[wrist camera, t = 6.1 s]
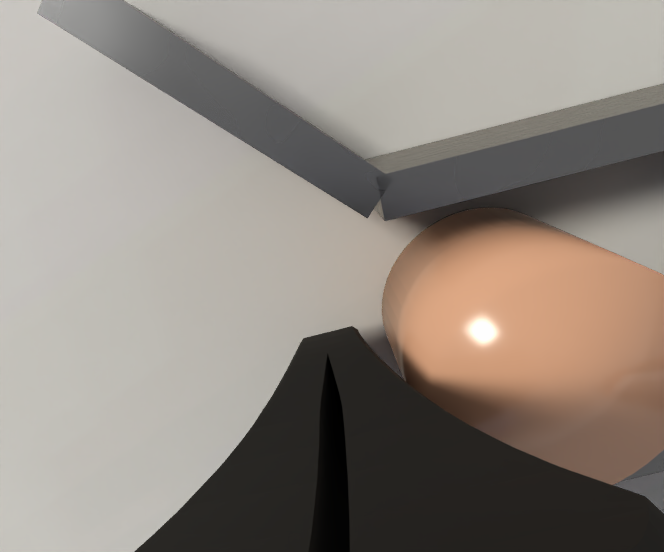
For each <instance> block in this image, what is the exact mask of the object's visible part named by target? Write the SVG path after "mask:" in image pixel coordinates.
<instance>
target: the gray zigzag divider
mask: <svg viewBox="0 0 664 552" xmlns="http://www.w3.org/2000/svg"><path fill="white" fill-rule="evenodd" d="M38 14H39V15H41V16H42V17H44V18H46V19H47V20H49V21H51V22H52V23H54V24H55V25H57V26H59V27H60V28H62V29H63V30H65V31H67V32H68V33H70V34H71V35H73V36H75V37H76V38H78V39H80V40H81V41H83V42H84V43H86V44H88V45H89V46H91V47H92V48H94V49H96V50H97V51H99V52H100V53H102V54H104V55H105V56H107V57H108V58H110V59H112V60H113V61H115V62H117V63H118V64H120V65H121V66H123V67H125V68H126V69H128V70H129V71H131V72H133V73H134V74H136V75H137V76H139V77H141V78H142V79H144V80H146V81H147V82H149V83H150V84H152V85H154V86H155V87H157V88H158V89H160V90H162V91H163V92H165V93H166V94H168V95H170V96H171V97H173V98H175V99H176V100H178V101H179V102H181V103H183V104H184V105H186V106H187V107H189V108H191V109H192V110H194V111H195V112H197V113H199V114H200V115H202V116H204V117H205V118H207V119H208V120H210V121H212V122H213V123H215V124H216V125H218V126H220V127H221V128H223V129H224V130H226V131H228V132H229V133H231V134H232V135H234V136H236V137H237V138H239V139H241V140H242V141H244V142H245V143H247V144H249V145H250V146H252V147H253V148H255V149H257V150H258V151H260V152H261V153H263V154H265V155H266V156H268V157H270V158H271V159H273V160H274V161H276V162H278V163H279V164H281V165H282V166H284V167H286V168H287V169H289V170H290V171H292V172H294V173H295V174H297V175H299V176H300V177H302V178H303V179H305V180H307V181H308V182H310V183H311V184H313V185H315V186H316V187H318V188H319V189H321V190H323V191H324V192H326V193H327V194H329V195H331V196H332V197H334V198H336V199H337V200H339V201H340V202H342V203H344V204H345V205H347V206H348V207H350V208H352V209H353V210H355V211H356V212H358V213H360V214H361V215H363V216H365V217H366V218H368V217H369V215H370V214H371V212H372V211H373V209H374V208H375V209H376V211H377V212H378V213H379V214H380V216H381V217H382V218H383V219H384V221H387V220H391V219H395V218H399V217H403V216H407V215H411V214H415V213H419V212H422V211H426V210H430V209H434V208H438V207H442V206H446V205H450V204H454V203H458V202H462V201H466V200H470V199H474V198H478V197H482V196H486V195H490V194H494V193H498V192H502V191H506V190H510V189H514V188H518V187H522V186H526V185H530V184H534V183H538V182H542V181H546V180H550V179H554V178H558V177H562V176H566V175H570V174H574V173H578V172H582V171H586V170H590V169H594V168H598V167H602V166H606V165H610V164H614V163H618V162H622V161H626V160H630V159H634V158H638V157H642V156H646V155H650V154H654V153H657V152H661V151H664V84H660V85H656V86H652V87H648V88H644V89H640V90H637V91H633V92H629V93H625V94H621V95H617V96H613V97H609V98H605V99H601V100H597V101H593V102H589V103H585V104H582V105H578V106H574V107H570V108H566V109H562V110H558V111H554V112H550V113H546V114H542V115H538V116H534V117H530V118H527V119H523V120H519V121H515V122H511V123H507V124H503V125H499V126H495V127H491V128H487V129H483V130H479V131H475V132H472V133H468V134H464V135H460V136H456V137H452V138H448V139H444V140H440V141H436V142H432V143H428V144H424V145H420V146H417V147H413V148H409V149H405V150H401V151H397V152H393V153H389V154H385V155H381V156H377V157H373V158H369V159H365V160H364V159H363V158H361V157H360V156H358V155H357V154H355V153H354V152H352V151H351V150H349V149H348V148H346V147H345V146H343V145H342V144H340V143H339V142H337V141H336V140H334V139H333V138H331V137H330V136H328V135H327V134H325V133H324V132H322V131H321V130H319V129H318V128H316V127H315V126H313V125H312V124H310V123H309V122H307V121H306V120H304V119H303V118H301V117H299V116H298V115H296V114H295V113H293V112H292V111H290V110H289V109H287V108H286V107H284V106H283V105H281V104H280V103H278V102H277V101H275V100H274V99H272V98H271V97H269V96H268V95H266V94H265V93H263V92H262V91H260V90H259V89H257V88H256V87H254V86H253V85H251V84H250V83H248V82H247V81H245V80H244V79H242V78H241V77H239V76H238V75H236V74H235V73H233V72H231V71H230V70H228V69H227V68H225V67H224V66H222V65H221V64H219V63H218V62H216V61H215V60H213V59H212V58H210V57H209V56H207V55H206V54H204V53H203V52H201V51H200V50H198V49H197V48H195V47H194V46H192V45H191V44H189V43H188V42H186V41H185V40H183V39H182V38H180V37H179V36H177V35H176V34H174V33H173V32H171V31H170V30H168V29H167V28H165V27H164V26H162V25H160V24H159V23H157V22H156V21H154V20H153V19H151V18H150V17H148V16H147V15H145V14H144V13H142V12H141V11H139V10H138V9H136V8H135V7H133V6H132V5H130V4H129V3H127V2H126V1H124V0H42V2H41V5H40V7H39V10H38ZM662 471H664V450H663V451H662V452H661V453H659V454H658V455H657V456H656V457H655V458H654V459H652V460H651V461H650V462H649V463H648V464H646V465H645V466H643V467H642V468H640V469H639V470H638V471H636V472H635V473H633V474H632V475H630V476H628V477H627V478H625V479H623V480H628V479H632V478H636V477H640V476H645V475H649V474H653V473H658V472H662ZM623 480H621V481H623Z"/></svg>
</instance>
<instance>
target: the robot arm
mask: <svg viewBox="0 0 664 552" xmlns="http://www.w3.org/2000/svg"><path fill="white" fill-rule="evenodd" d="M135 552H664V514H663V513H662V512H661V511H660V510H659V509H658V508H657V507H656V506H655V505H654V504H652V503H651V502H650V501H649V500H648V499H647V498H646V497H645V496H642V495H639V494H636V493H633V492H631V491H628V490H625V489H622V488H619V487H616V486H613V485H611V484H608V483H605V482H602V481H599V480H596V479H593V478H590V477H588V476H585V475H582V474H579V473H576V472H573V471H570V470H567V469H565V468H562V467H559V466H557V465H554V464H552V463H549V462H547V461H544V460H542V459H540V458H537V457H535V456H533V455H530V454H528V453H526V452H523V451H521V450H519V449H516V448H514V447H512V446H510V445H508V444H506V443H504V442H502V441H500V440H498V439H496V438H494V437H492V436H490V435H488V434H486V433H484V432H482V431H480V430H478V429H476V428H474V427H472V426H470V425H468V424H467V423H465V422H463V421H462V420H460V419H459V418H457V417H455V416H454V415H452V414H450V413H449V412H447V411H445V410H444V409H442V408H441V407H439V406H438V405H436V404H435V403H433V402H432V401H430V400H429V399H428V398H426V397H425V396H424V395H422V394H421V393H420V392H418V391H417V390H416V389H414V388H413V387H412V386H411V385H409V384H408V383H407V382H406V381H404V380H403V379H402V378H401V377H400V376H399V375H397V374H396V373H395V372H394V371H393V370H392V369H391V368H390V367H389V366H388V365H387V364H386V363H385V362H384V361H382V360H381V359H380V358H379V357H378V356H377V355H376V353H375V352H374V351H373V350H372V349H371V348H370V347H369V346H368V344H367V343H366V342H365V341H364V339H363V338H362V337H361V335H360V333H359V332H358V330H357V329H356V328H354V327H352V326H351V327H347V328H343V329H339V330H335V331H331V332H327V333H323V334H319V335H315V336H311V337H307V338H304V339H303V340H302V342H301V343H300V345H299V347H298V349H297V351H296V353H295V355H294V357H293V359H292V361H291V363H290V365H289V367H288V369H287V371H286V373H285V374H284V376H283V378H282V380H281V381H280V383H279V385H278V387H277V388H276V390H275V392H274V394H273V395H272V397H271V399H270V400H269V402H268V403H267V405H266V406H265V408H264V409H263V411H262V412H261V414H260V415H259V417H258V419H257V420H256V422H255V423H254V425H253V426H252V427H251V429H250V430H249V432H248V433H247V434H246V436H245V437H244V438H243V440H242V441H241V442H240V443H239V445H238V446H237V447H236V448H235V449H234V451H233V452H232V453H231V454H230V456H229V457H228V458H227V459H226V460H225V462H224V463H223V464H222V465H221V466H220V467H219V469H218V470H217V471H216V472H215V473H214V474H213V475H212V476H211V477H210V478H209V479H208V480H207V481H206V482H205V483H204V484H203V486H202V487H201V488H200V489H199V490H198V491H197V492H196V493H195V494H194V495H193V496H192V497H191V498H190V499H189V500H188V501H187V503H186V504H185V505H184V506H183V507H182V508H181V509H180V510H179V511H178V512H177V513H176V514H175V515H174V516H173V517H172V518H170V519H169V520H168V521H167V522H166V523H165V524H164V525H163V526H162V527H161V528H160V529H159V530H158V531H157V532H156V533H155V534H154V535H152V536H151V537H150V538H149V539H148V540H147V541H146V542H145V543H144V544H142V545H141V546H140V547H139V548H138V549H137V550H136V551H135Z"/></svg>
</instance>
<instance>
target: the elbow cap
mask: <svg viewBox="0 0 664 552" xmlns="http://www.w3.org/2000/svg"><path fill="white" fill-rule="evenodd" d="M382 318H383V325H384V328H385V332H386V335H387V338H388V340H389V343H390V345H391V348H392V350H393V353H394V356H395V358H396V361H397V363H398V366H399V368H400V371H401V374H402V376H403V379H404V381H406V382H407V383H408V384H409V385H411V386H412V387H413V388H414V389H416V390H417V391H418V392H420V393H421V394H422V395H424V396H425V397H426V398H428V399H429V400H430V401H432V402H433V403H435V404H436V405H438V406H439V407H441V408H442V409H444V410H445V411H447V412H449V413H450V414H452V415H454V416H455V417H457V418H459V419H460V420H462V421H463V422H465V423H467V424H468V425H470V426H472V427H474V428H476V429H478V430H480V431H482V432H484V433H486V434H488V435H490V436H492V437H494V438H496V439H498V440H500V441H502V442H504V443H506V444H508V445H510V446H512V447H514V448H516V449H519V450H521V451H523V452H526V453H528V454H530V455H533V456H535V457H537V458H540V459H542V460H544V461H547V462H549V463H552V464H554V465H557V466H559V467H562V468H565V469H567V470H570V471H573V472H576V473H579V474H582V475H585V476H588V477H590V478H593V479H596V480H599V481H602V482H605V483H608V484H611V485H614V484H616V483H618V482H620V481H621V480H623V479H625V478H627V477H628V476H630V475H632V474H633V473H635V472H636V471H638V470H639V469H640V468H642V467H643V466H645V465H646V464H648V463H649V462H650V461H651V460H652V459H654V458H655V457H656V456H657V455H658V454H659V453H661V452H662V451H663V450H664V275H662V274H661V273H659V272H656V271H654V270H652V269H649V268H647V267H645V266H642V265H640V264H638V263H636V262H633V261H631V260H629V259H626V258H624V257H622V256H620V255H617V254H615V253H613V252H610V251H608V250H606V249H604V248H601V247H599V246H597V245H594V244H592V243H590V242H588V241H585V240H583V239H581V238H578V237H576V236H574V235H572V234H569V233H567V232H565V231H562V230H560V229H558V228H556V227H553V226H551V225H549V224H546V223H544V222H542V221H540V220H537V219H535V218H533V217H530V216H528V215H525V214H523V213H520V212H518V211H514V210H509V209H505V208H493V207H490V208H476V209H471V210H465V211H462V212H459V213H456V214H453V215H450V216H448V217H446V218H444V219H441V220H439V221H438V222H436V223H434V224H433V225H431V226H429V227H428V228H427V229H425V230H424V231H423V232H421V233H420V234H419V235H418V236H416V237H415V238H414V239H413V240H412V241H411V242H410V243H409V244H408V245H407V247H406V248H405V249H404V250H403V252H402V253H401V254H400V255H399V257H398V259H397V260H396V262H395V264H394V265H393V267H392V269H391V271H390V273H389V276H388V278H387V281H386V284H385V288H384V292H383V299H382Z"/></svg>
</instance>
